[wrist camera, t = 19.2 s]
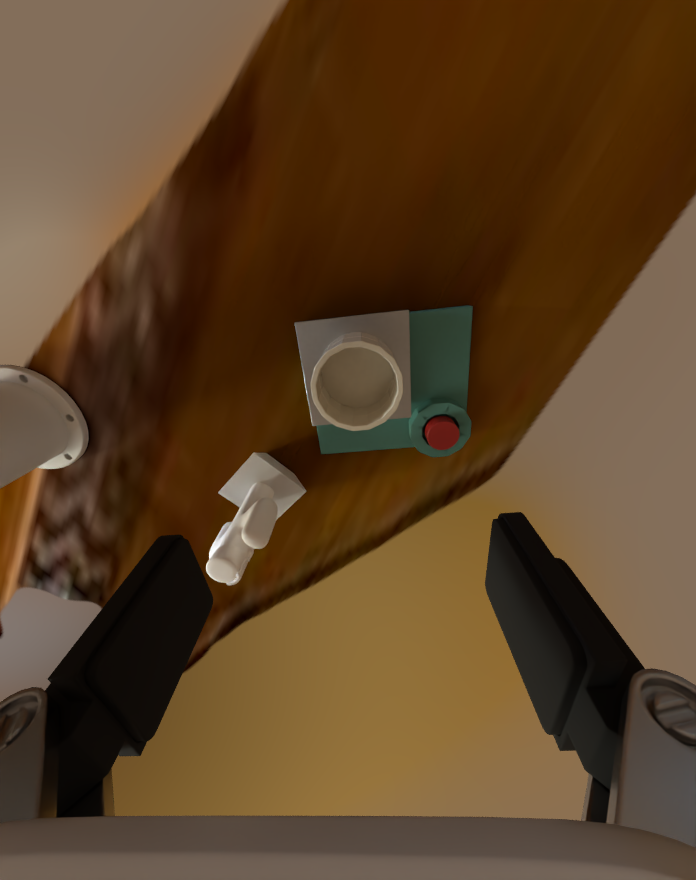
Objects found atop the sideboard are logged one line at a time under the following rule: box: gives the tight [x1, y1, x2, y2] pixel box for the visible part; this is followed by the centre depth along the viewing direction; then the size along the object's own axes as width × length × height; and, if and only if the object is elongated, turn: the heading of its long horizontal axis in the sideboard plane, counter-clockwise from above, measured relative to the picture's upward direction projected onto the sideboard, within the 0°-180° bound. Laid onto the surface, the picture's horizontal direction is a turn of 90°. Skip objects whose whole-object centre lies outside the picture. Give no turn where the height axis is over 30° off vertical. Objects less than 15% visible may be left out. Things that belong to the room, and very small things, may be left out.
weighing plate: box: [295, 309, 411, 426], centre depth 31 cm, size 10×10×4 cm
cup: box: [310, 332, 403, 431], centre depth 27 cm, size 7×7×5 cm
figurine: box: [206, 453, 306, 585], centre depth 33 cm, size 7×9×15 cm
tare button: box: [424, 416, 460, 450], centre depth 32 cm, size 3×3×2 cm
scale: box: [317, 305, 473, 457], centre depth 32 cm, size 16×14×3 cm
